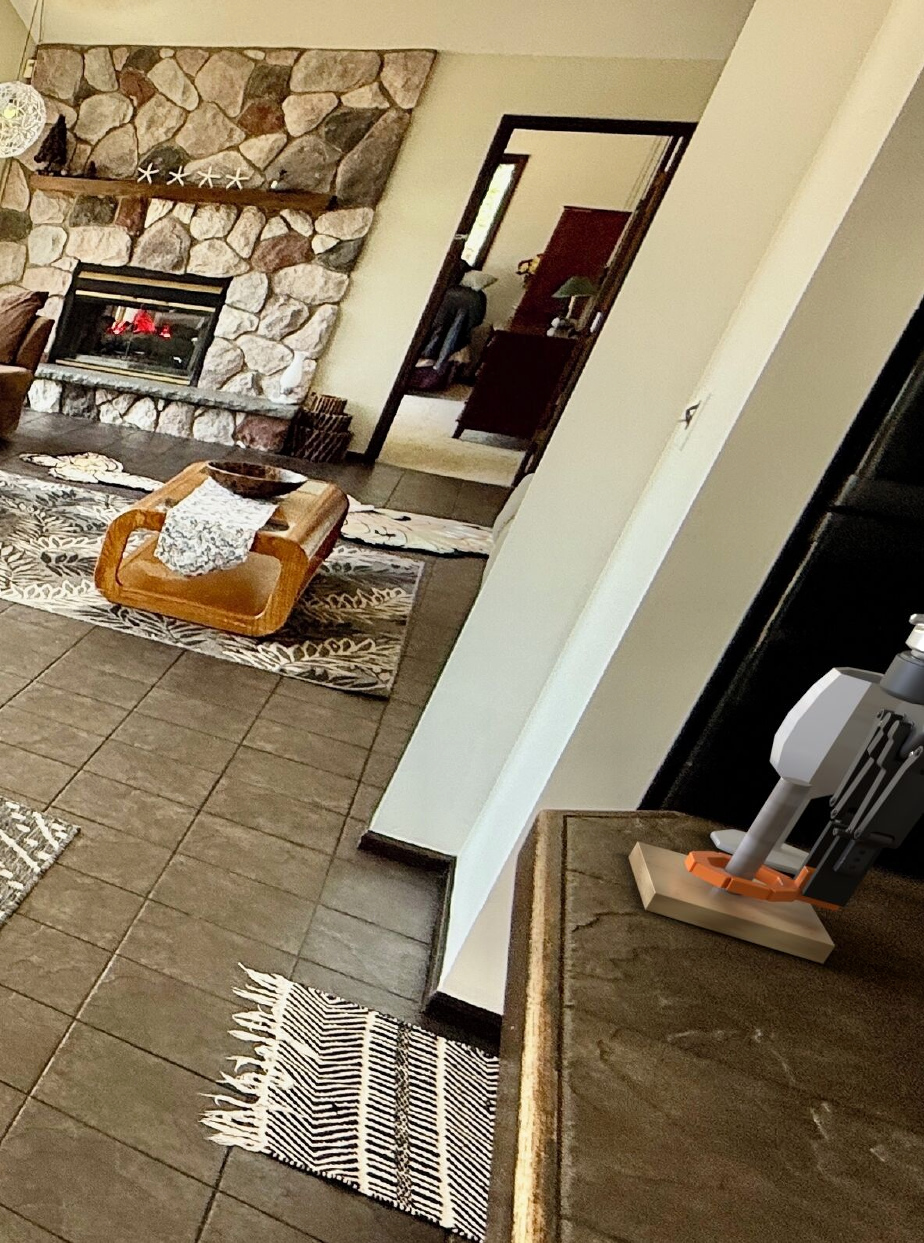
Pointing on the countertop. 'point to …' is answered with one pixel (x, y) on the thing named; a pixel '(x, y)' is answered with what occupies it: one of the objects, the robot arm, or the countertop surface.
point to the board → (726, 907)
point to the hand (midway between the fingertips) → (818, 892)
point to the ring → (774, 891)
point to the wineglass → (819, 747)
